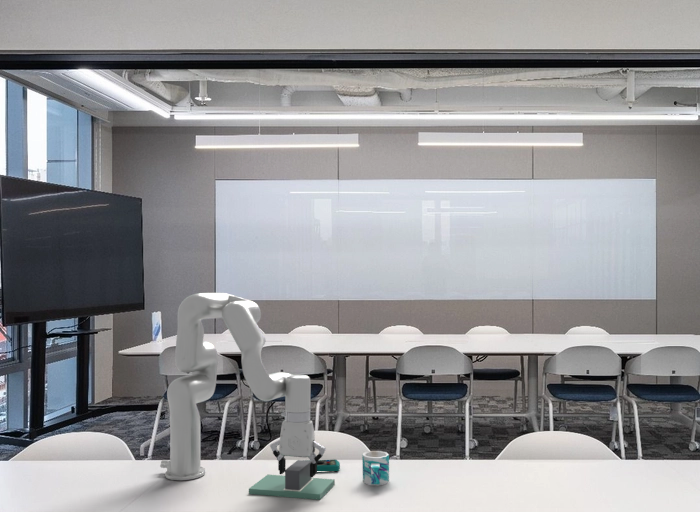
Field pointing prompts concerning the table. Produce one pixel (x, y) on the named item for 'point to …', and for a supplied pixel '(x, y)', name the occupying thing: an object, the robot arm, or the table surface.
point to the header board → (276, 487)
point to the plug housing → (297, 475)
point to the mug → (375, 467)
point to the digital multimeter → (327, 465)
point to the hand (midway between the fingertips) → (297, 474)
